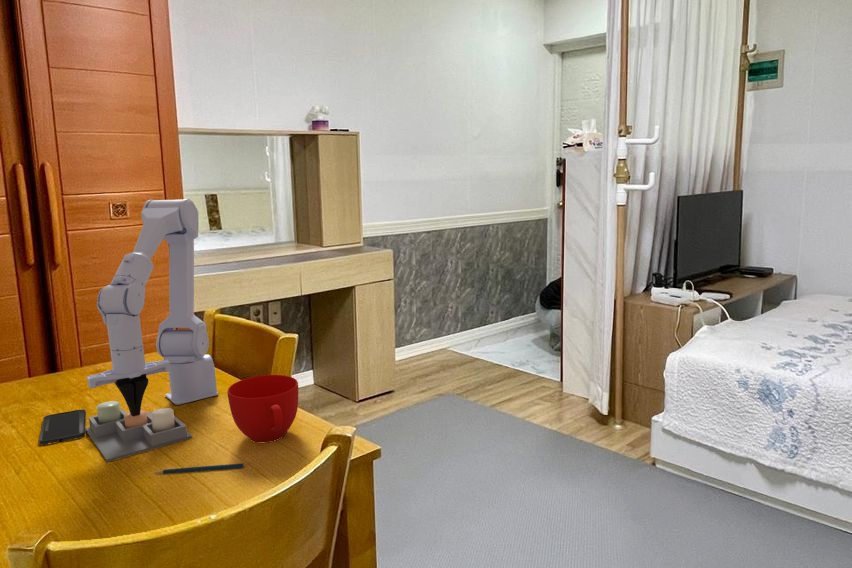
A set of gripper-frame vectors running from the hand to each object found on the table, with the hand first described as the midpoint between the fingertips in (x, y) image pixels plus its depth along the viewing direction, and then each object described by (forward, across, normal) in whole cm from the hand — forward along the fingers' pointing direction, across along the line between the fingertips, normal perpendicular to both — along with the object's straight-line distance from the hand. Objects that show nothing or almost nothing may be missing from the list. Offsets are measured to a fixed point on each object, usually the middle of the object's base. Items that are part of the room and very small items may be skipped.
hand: (135, 414), depth 127 cm
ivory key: (+2, +4, -6) cm, 7 cm away
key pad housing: (+4, 0, 0) cm, 4 cm away
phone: (+5, -11, +14) cm, 18 cm away
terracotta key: (+3, 0, 0) cm, 3 cm away
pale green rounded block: (+2, -4, +6) cm, 7 cm away
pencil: (+5, +4, -23) cm, 24 cm away
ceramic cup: (+4, +18, -20) cm, 28 cm away
